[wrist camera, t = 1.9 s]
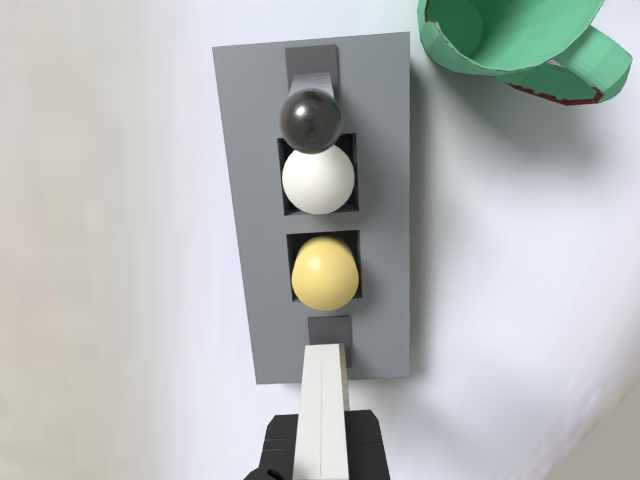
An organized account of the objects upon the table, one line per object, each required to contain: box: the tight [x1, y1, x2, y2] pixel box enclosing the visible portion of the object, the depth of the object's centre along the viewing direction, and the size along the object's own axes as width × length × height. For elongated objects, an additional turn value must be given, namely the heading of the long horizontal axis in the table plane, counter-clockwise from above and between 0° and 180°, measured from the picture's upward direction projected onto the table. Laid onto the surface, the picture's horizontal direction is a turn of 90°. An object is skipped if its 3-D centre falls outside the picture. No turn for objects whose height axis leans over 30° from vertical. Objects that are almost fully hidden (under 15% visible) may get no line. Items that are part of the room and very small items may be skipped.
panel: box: [212, 32, 410, 384], centre depth 30 cm, size 28×14×4 cm, turn 4°
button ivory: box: [282, 145, 355, 214], centre depth 26 cm, size 5×5×4 cm
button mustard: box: [292, 235, 359, 311], centre depth 28 cm, size 5×5×4 cm
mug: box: [417, 0, 633, 106], centre depth 23 cm, size 15×10×10 cm
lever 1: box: [279, 72, 343, 155], centre depth 20 cm, size 3×3×11 cm
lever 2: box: [316, 343, 350, 411], centre depth 25 cm, size 3×3×11 cm
